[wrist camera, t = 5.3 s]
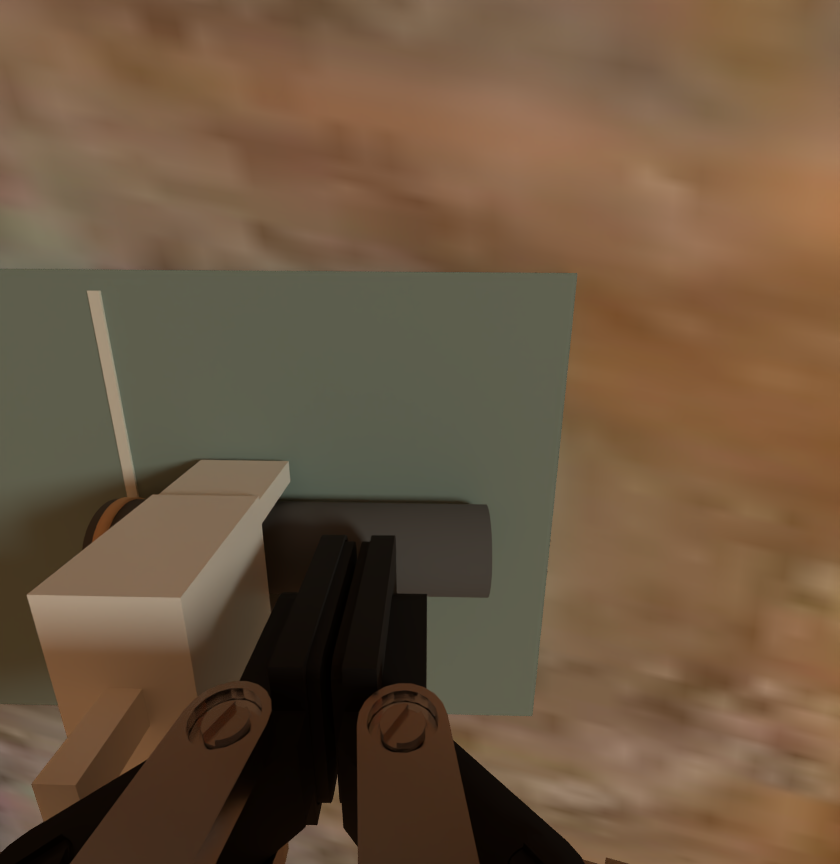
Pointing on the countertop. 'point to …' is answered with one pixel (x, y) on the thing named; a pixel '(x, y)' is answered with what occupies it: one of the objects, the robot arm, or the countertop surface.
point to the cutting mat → (290, 425)
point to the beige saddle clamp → (153, 620)
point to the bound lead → (410, 523)
